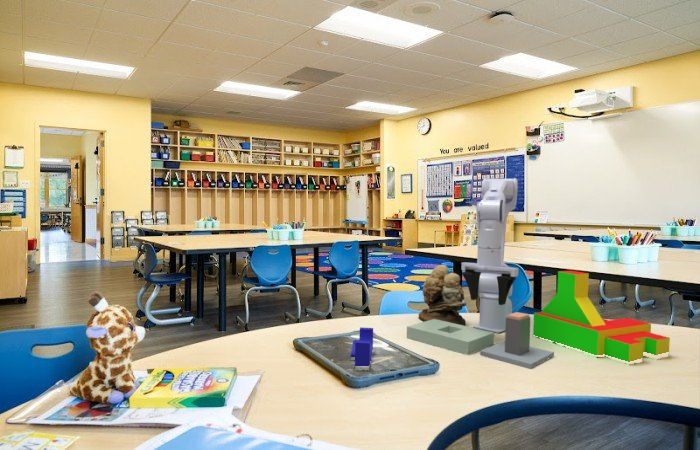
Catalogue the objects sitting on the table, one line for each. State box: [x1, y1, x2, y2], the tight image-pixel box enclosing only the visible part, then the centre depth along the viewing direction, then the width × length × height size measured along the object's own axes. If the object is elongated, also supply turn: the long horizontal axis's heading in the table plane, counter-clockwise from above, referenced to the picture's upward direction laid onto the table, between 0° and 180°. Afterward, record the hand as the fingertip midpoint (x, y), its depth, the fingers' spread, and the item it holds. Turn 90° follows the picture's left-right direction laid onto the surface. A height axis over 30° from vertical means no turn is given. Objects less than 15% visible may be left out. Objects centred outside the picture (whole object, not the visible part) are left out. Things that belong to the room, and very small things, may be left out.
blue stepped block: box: [350, 327, 374, 367], centre depth 103 cm, size 12×4×6 cm, turn 174°
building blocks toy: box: [532, 270, 671, 362], centre depth 117 cm, size 19×25×18 cm
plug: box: [504, 311, 531, 356], centre depth 108 cm, size 5×4×9 cm
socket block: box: [406, 319, 495, 356], centre depth 119 cm, size 12×18×3 cm, turn 45°
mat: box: [479, 340, 555, 369], centre depth 108 cm, size 12×12×1 cm
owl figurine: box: [418, 264, 467, 326], centre depth 139 cm, size 18×12×17 cm, turn 27°
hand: (487, 301), depth 118 cm, fingers open, 7 cm apart
